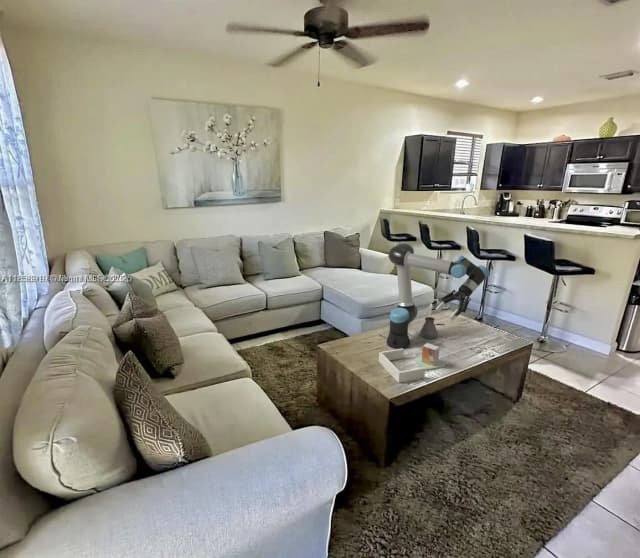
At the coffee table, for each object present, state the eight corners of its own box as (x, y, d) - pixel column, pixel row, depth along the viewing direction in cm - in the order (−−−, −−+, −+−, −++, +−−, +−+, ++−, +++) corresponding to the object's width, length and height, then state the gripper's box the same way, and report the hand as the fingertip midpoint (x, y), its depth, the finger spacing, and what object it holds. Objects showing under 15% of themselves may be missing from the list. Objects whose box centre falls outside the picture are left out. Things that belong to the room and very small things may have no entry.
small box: (421, 361, 210) (422, 345, 207) (425, 358, 214) (427, 342, 211) (433, 366, 205) (435, 350, 202) (438, 362, 208) (439, 346, 205)
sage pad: (413, 360, 213) (413, 359, 213) (434, 357, 217) (434, 355, 217) (425, 370, 202) (425, 369, 202) (446, 366, 206) (446, 365, 206)
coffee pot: (416, 334, 249) (417, 314, 245) (430, 331, 253) (431, 311, 248) (435, 347, 230) (437, 325, 225) (450, 344, 233) (452, 323, 229)
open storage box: (378, 361, 213) (379, 352, 212) (402, 357, 218) (402, 348, 216) (398, 382, 191) (399, 373, 189) (424, 377, 195) (425, 368, 194)
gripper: (486, 298, 199) (461, 326, 199) (457, 285, 222) (435, 311, 222) (479, 290, 196) (453, 319, 196) (451, 278, 219) (428, 304, 219)
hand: (443, 314), depth 209 cm, fingers open, 13 cm apart
